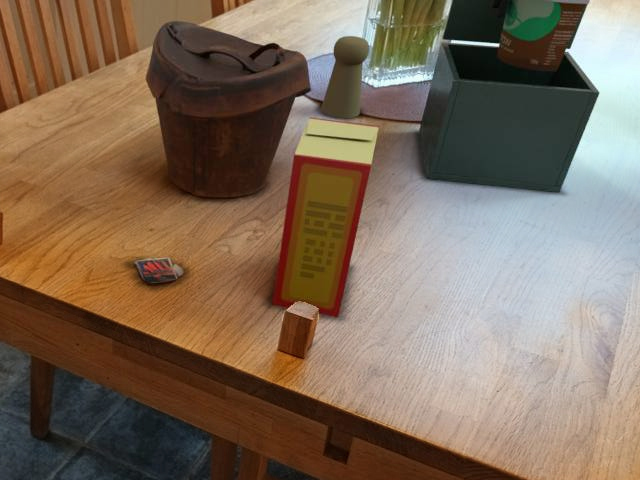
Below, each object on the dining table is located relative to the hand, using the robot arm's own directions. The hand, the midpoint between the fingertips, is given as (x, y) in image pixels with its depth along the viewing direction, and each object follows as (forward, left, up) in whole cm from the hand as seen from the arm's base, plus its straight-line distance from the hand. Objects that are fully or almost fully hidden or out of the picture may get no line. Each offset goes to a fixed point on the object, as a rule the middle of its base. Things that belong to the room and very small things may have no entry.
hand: (530, 15), depth 88 cm
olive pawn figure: (+20, -14, -19) cm, 31 cm away
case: (+35, +15, -19) cm, 43 cm away
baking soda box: (+22, +38, -19) cm, 48 cm away
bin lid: (0, -7, +3) cm, 8 cm away
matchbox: (+38, +39, -19) cm, 58 cm away
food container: (0, 0, -5) cm, 5 cm away
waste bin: (0, 0, -19) cm, 19 cm away
